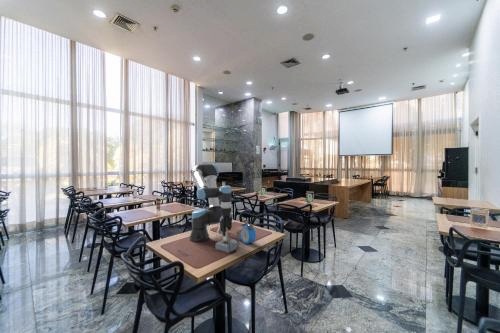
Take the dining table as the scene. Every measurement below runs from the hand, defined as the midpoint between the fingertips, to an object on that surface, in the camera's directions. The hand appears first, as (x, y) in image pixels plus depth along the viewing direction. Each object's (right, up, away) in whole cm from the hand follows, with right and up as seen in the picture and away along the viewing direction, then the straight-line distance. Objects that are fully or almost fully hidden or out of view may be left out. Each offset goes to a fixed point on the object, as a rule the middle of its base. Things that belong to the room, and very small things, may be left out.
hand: (226, 239), depth 155 cm
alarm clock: (+15, -6, +10) cm, 19 cm away
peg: (0, -4, 0) cm, 4 cm away
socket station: (+2, -6, -1) cm, 7 cm away
